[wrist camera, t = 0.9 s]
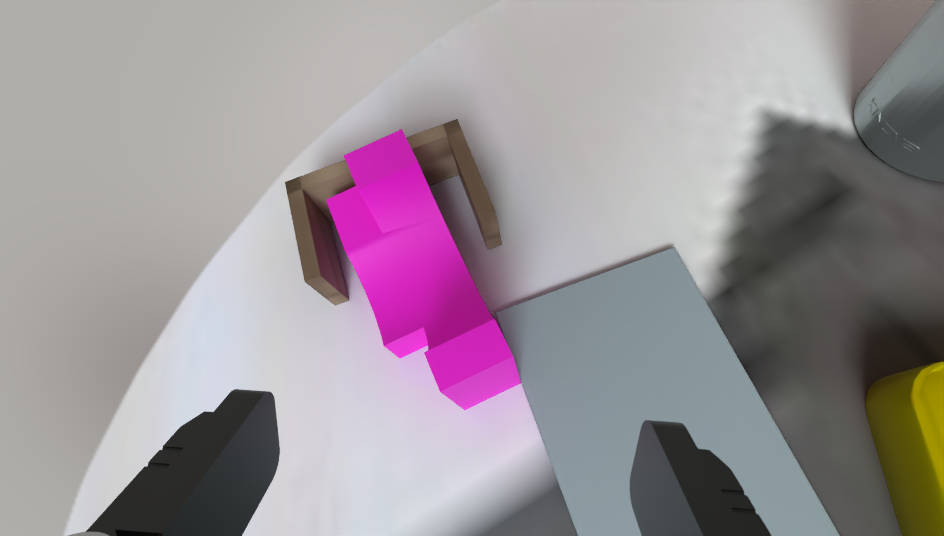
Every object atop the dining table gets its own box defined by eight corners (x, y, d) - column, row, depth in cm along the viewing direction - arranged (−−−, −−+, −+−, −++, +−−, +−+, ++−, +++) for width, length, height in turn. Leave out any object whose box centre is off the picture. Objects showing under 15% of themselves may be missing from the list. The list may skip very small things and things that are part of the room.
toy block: (351, 231, 35) (304, 173, 29) (430, 195, 36) (401, 129, 29) (427, 428, 29) (390, 415, 22) (521, 383, 30) (513, 356, 23)
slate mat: (672, 249, 31) (674, 247, 31) (850, 561, 24) (855, 562, 23) (496, 314, 31) (495, 312, 31) (618, 645, 24) (620, 647, 23)
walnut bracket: (467, 159, 36) (457, 119, 32) (501, 244, 33) (495, 212, 29) (314, 215, 36) (285, 182, 32) (335, 305, 33) (304, 281, 29)
